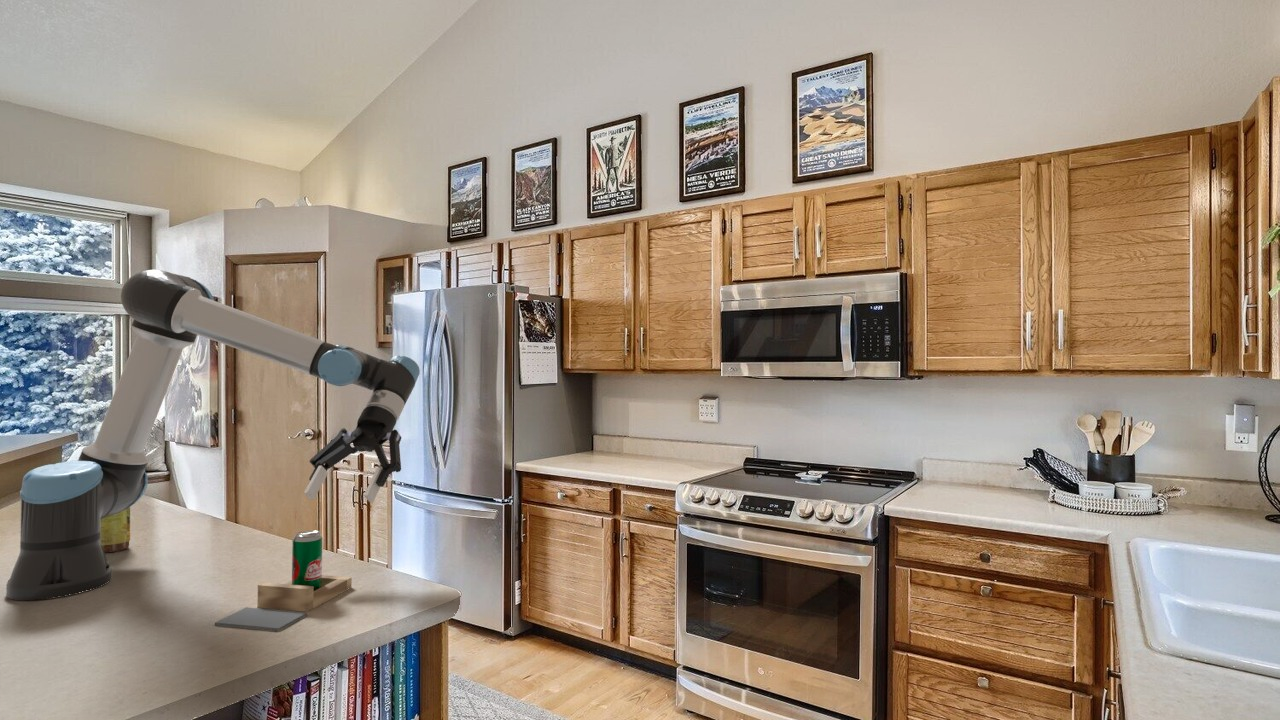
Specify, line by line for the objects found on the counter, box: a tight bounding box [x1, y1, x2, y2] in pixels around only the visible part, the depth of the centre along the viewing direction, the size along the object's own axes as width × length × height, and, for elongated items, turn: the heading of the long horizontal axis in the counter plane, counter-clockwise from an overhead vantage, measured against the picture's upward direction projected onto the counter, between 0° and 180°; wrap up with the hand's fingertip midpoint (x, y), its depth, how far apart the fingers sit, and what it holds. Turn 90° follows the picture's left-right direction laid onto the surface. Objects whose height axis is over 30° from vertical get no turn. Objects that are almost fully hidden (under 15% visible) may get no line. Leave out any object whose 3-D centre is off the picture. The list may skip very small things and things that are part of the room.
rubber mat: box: [214, 606, 308, 632], centre depth 112 cm, size 12×7×1 cm, turn 80°
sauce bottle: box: [100, 506, 131, 554], centre depth 152 cm, size 7×6×20 cm
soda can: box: [291, 530, 324, 591], centre depth 124 cm, size 5×5×12 cm
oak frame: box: [256, 574, 353, 613], centre depth 124 cm, size 10×13×4 cm
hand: (338, 497), depth 133 cm, fingers open, 13 cm apart
